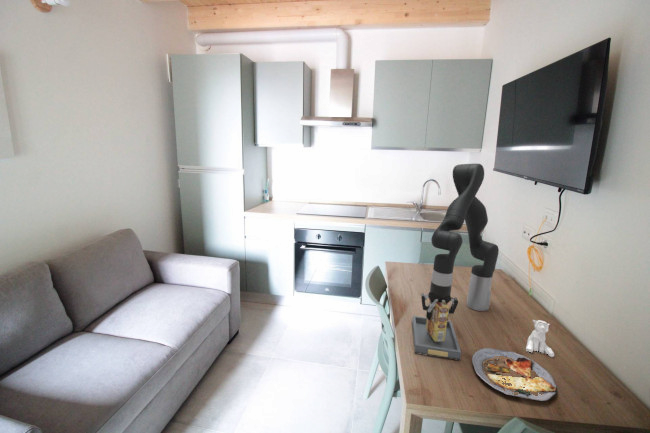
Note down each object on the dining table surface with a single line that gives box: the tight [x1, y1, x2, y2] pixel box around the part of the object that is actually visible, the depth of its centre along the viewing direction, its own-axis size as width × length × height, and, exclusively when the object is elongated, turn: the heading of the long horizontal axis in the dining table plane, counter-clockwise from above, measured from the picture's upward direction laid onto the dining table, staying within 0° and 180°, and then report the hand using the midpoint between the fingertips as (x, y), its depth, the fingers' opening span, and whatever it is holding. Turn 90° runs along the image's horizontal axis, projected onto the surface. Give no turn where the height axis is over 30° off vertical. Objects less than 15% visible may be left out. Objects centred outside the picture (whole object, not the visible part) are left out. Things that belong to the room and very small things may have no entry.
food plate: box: [471, 347, 558, 402], centre depth 106 cm, size 25×23×4 cm
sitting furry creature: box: [525, 319, 555, 358], centre depth 120 cm, size 10×9×12 cm
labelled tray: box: [411, 315, 462, 361], centre depth 124 cm, size 16×21×4 cm
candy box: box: [426, 298, 450, 342], centre depth 122 cm, size 9×4×15 cm, turn 7°
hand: (436, 320), depth 122 cm, fingers open, 5 cm apart
